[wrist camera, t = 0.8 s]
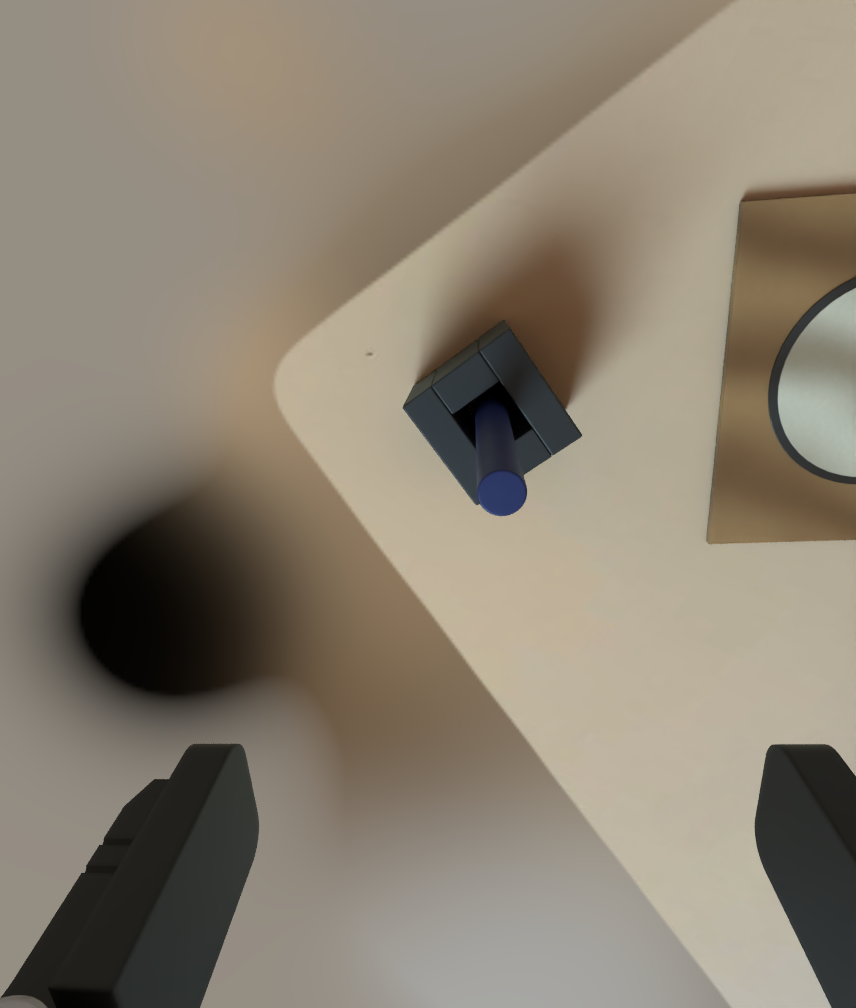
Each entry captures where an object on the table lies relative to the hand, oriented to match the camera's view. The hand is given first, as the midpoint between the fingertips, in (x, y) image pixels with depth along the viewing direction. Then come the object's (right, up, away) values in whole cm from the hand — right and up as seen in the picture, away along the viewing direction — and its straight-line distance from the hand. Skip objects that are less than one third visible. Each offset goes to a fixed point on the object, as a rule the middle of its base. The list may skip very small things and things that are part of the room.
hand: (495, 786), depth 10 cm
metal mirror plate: (+20, +10, +19) cm, 30 cm away
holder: (+2, +10, +21) cm, 23 cm away
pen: (+2, +10, +21) cm, 23 cm away
